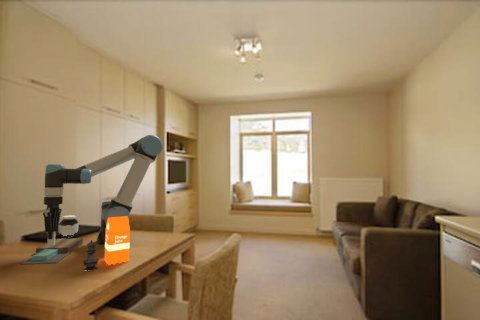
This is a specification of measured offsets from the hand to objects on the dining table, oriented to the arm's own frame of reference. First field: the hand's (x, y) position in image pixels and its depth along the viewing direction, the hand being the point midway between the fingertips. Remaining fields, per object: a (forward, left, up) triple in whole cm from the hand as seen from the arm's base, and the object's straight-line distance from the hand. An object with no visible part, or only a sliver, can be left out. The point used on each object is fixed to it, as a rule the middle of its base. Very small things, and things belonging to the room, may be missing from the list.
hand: (51, 245), depth 131 cm
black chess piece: (-25, +22, -5) cm, 34 cm away
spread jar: (+8, -39, -5) cm, 40 cm away
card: (0, +4, -3) cm, 5 cm away
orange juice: (-33, +13, -5) cm, 36 cm away
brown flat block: (0, -10, -5) cm, 11 cm away
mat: (-1, +6, -5) cm, 8 cm away
